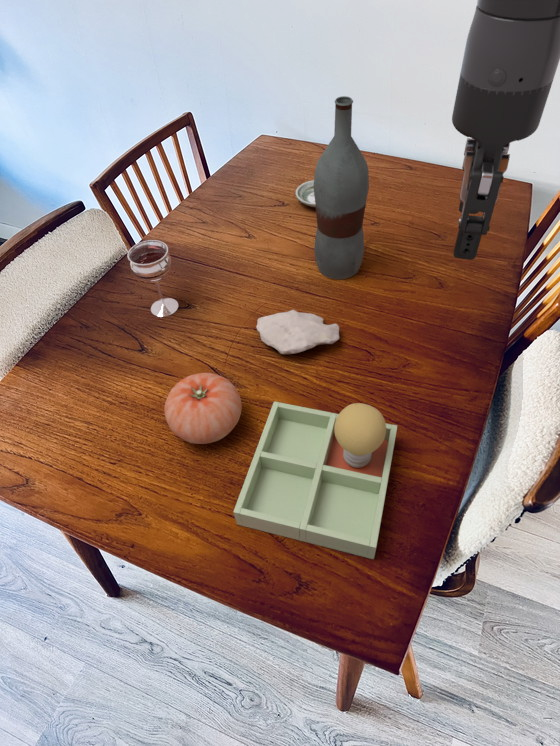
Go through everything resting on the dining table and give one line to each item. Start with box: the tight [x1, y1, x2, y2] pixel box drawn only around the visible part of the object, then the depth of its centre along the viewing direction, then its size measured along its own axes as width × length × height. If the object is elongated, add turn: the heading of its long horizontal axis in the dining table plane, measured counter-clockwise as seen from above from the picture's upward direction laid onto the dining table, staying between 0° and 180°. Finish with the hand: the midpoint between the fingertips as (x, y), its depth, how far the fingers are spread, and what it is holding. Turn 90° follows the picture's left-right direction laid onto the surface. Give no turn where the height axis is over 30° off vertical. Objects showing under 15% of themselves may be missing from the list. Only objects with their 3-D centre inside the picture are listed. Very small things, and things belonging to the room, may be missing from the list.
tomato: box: [163, 372, 243, 445], centre depth 73 cm, size 11×11×8 cm
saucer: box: [295, 179, 316, 208], centre depth 112 cm, size 10×10×2 cm
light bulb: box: [334, 402, 386, 468], centre depth 66 cm, size 6×6×10 cm
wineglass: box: [127, 239, 179, 318], centre depth 89 cm, size 7×7×12 cm
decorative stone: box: [255, 309, 340, 355], centre depth 85 cm, size 11×4×15 cm
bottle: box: [313, 95, 370, 280], centre depth 87 cm, size 9×9×30 cm
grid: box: [232, 401, 398, 560], centre depth 68 cm, size 17×17×4 cm
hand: (466, 233), depth 56 cm, fingers open, 8 cm apart
